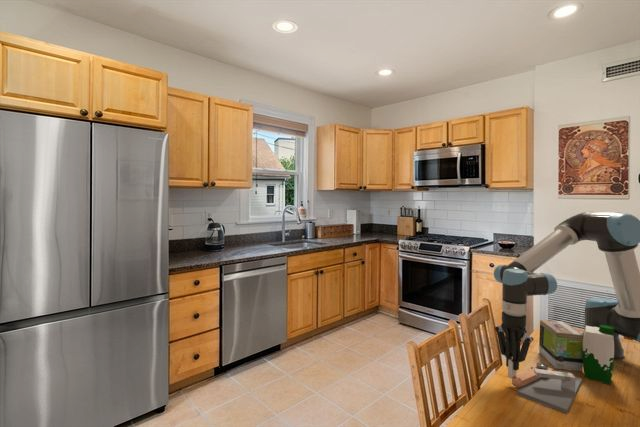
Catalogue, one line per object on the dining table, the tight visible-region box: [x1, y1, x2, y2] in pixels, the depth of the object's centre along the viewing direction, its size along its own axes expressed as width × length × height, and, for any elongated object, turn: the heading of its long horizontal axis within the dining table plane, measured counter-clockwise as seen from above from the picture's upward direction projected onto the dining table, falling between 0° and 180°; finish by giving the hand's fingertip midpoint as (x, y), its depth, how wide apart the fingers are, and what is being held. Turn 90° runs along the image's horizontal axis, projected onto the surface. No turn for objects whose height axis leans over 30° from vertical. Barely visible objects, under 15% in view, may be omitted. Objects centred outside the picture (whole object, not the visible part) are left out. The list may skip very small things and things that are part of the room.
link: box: [511, 364, 554, 388], centre depth 121 cm, size 20×5×2 cm, turn 119°
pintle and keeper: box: [534, 362, 575, 392], centre depth 118 cm, size 13×14×5 cm
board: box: [516, 369, 583, 414], centre depth 118 cm, size 26×14×1 cm, turn 134°
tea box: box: [538, 319, 584, 372], centre depth 137 cm, size 15×10×15 cm, turn 168°
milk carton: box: [582, 325, 615, 386], centre depth 124 cm, size 9×9×20 cm
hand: (512, 377), depth 120 cm, fingers closed
